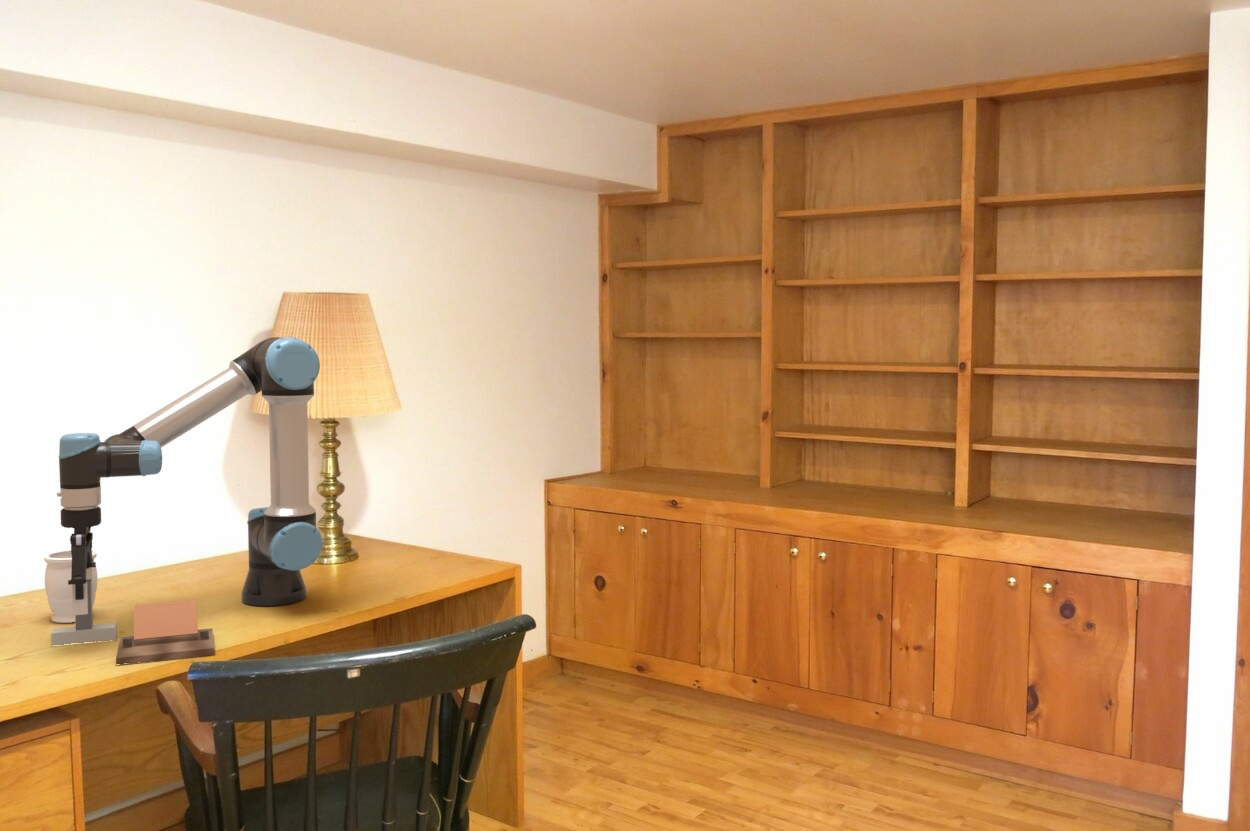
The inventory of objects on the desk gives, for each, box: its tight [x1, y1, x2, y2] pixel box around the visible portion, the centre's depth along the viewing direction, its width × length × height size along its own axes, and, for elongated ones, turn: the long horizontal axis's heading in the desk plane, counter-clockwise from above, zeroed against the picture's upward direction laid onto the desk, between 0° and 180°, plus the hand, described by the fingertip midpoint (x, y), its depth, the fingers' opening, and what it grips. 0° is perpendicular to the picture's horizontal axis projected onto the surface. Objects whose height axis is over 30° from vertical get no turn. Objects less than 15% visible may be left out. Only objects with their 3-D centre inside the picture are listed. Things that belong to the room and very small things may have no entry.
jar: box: [43, 550, 98, 624], centre depth 232 cm, size 11×10×15 cm
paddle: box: [50, 579, 118, 647], centre depth 215 cm, size 12×4×13 cm, turn 114°
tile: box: [133, 599, 199, 641], centre depth 212 cm, size 12×7×1 cm
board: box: [115, 628, 215, 665], centre depth 211 cm, size 18×15×3 cm
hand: (83, 606), depth 215 cm, fingers open, 13 cm apart
